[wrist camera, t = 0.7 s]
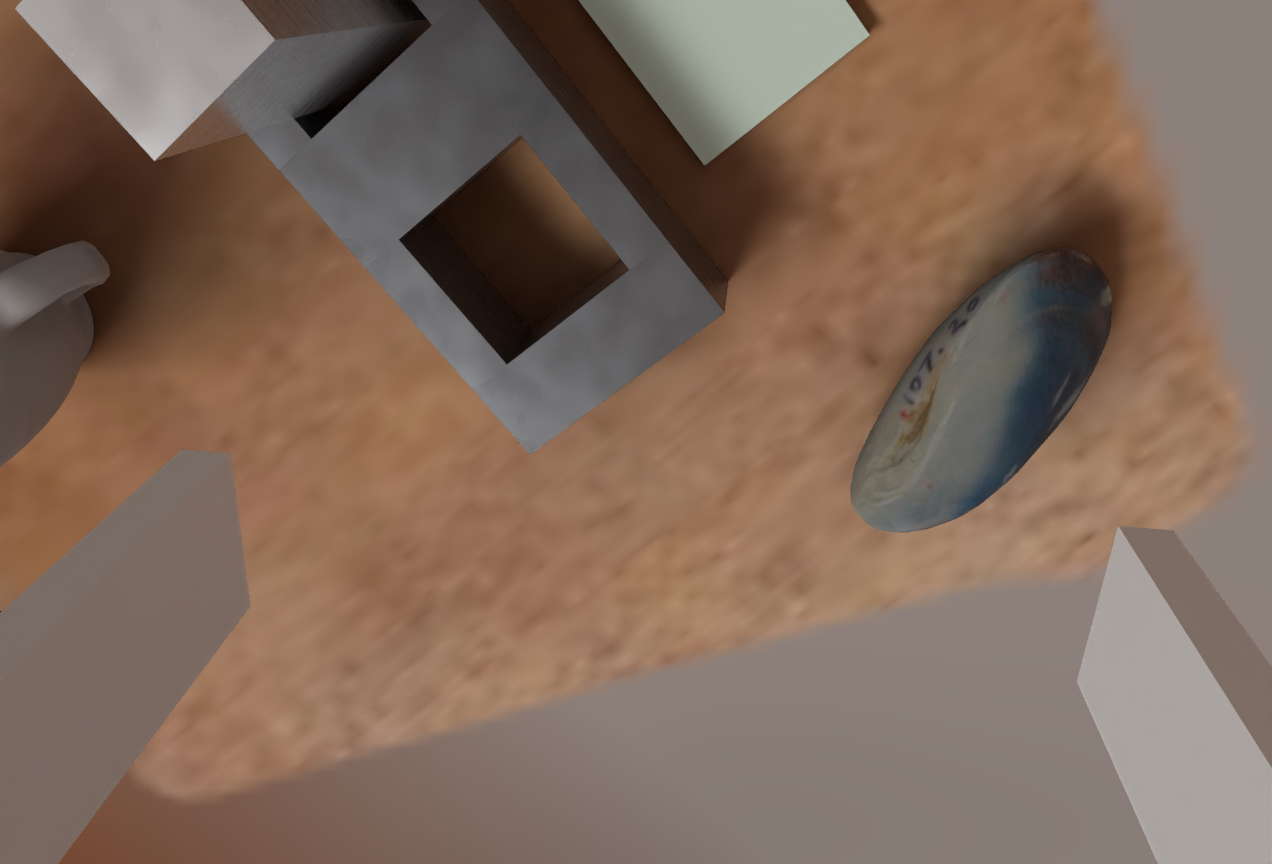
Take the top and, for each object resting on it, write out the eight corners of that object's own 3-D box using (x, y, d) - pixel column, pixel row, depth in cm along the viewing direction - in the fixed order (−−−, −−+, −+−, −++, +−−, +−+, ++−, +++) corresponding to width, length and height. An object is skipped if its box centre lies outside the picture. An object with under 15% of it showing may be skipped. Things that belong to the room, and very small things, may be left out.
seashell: (1154, 233, 35) (917, 336, 32) (1143, 467, 40) (933, 579, 36) (1012, 200, 41) (795, 285, 37) (1016, 410, 45) (822, 504, 42)
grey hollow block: (107, -98, 38) (35, -106, 34) (277, -295, 35) (219, -327, 31) (550, 413, 43) (530, 454, 40) (728, 281, 40) (724, 312, 37)
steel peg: (266, -4, 38) (15, 8, 25) (353, -92, 37) (132, -128, 24) (353, 99, 39) (154, 161, 26) (441, 17, 38) (275, 39, 25)
